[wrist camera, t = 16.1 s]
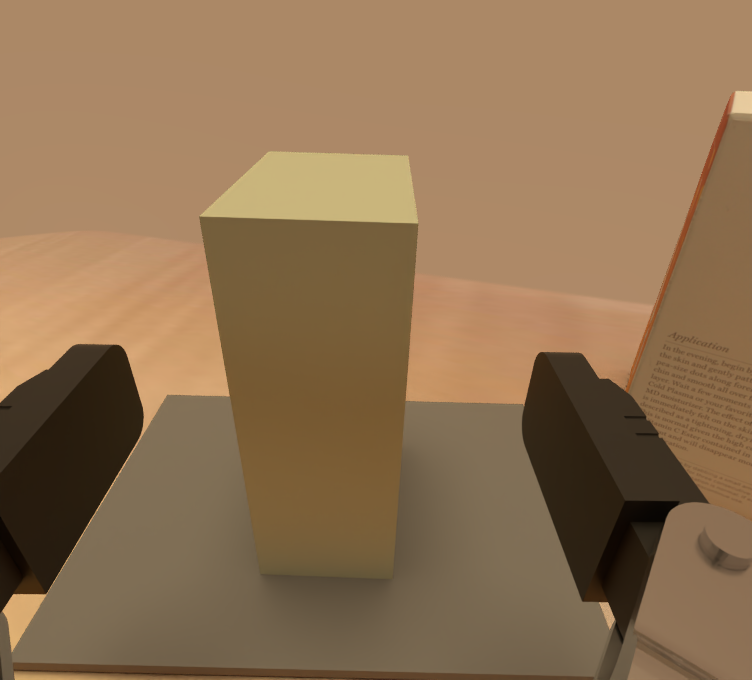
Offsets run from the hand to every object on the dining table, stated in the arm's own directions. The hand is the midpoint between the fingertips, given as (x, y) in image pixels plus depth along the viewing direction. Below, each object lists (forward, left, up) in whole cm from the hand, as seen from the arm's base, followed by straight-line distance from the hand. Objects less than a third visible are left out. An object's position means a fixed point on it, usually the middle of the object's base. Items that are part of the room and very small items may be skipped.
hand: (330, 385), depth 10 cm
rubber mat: (0, +4, -8) cm, 9 cm away
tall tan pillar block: (0, +4, -8) cm, 9 cm away
